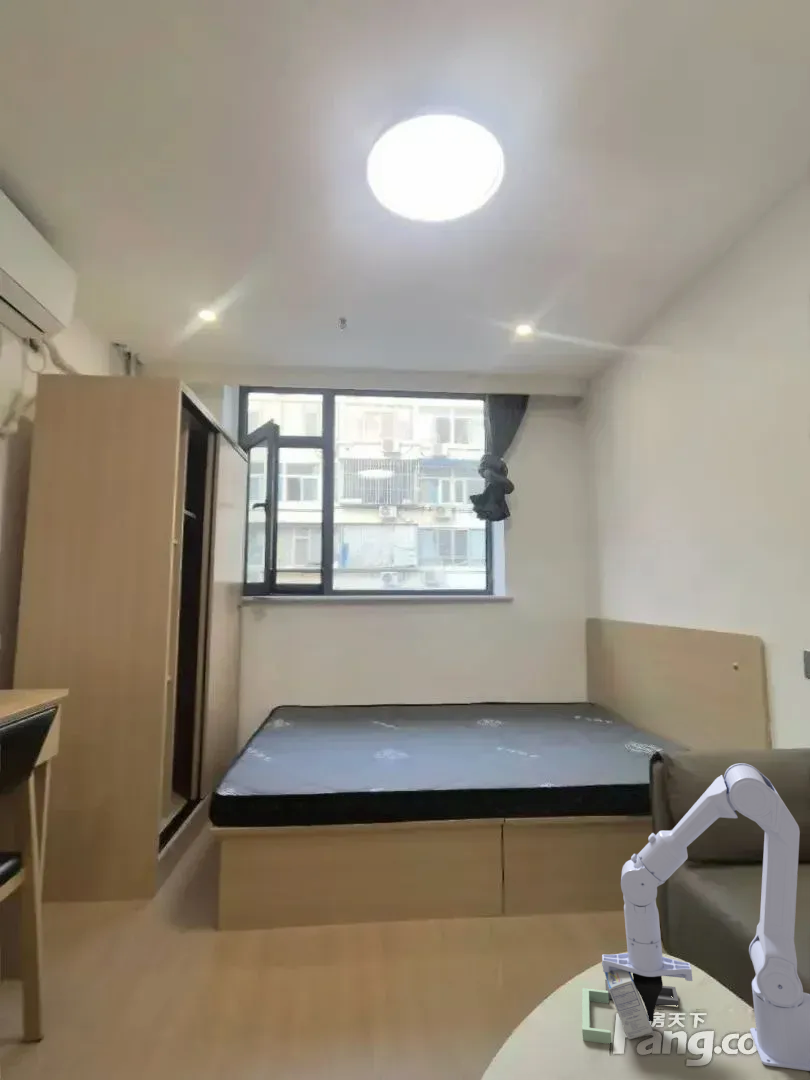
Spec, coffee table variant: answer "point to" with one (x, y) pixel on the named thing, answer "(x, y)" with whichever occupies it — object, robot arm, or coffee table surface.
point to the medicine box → (628, 1003)
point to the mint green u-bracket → (588, 1032)
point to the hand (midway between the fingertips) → (650, 1017)
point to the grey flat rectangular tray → (668, 996)
